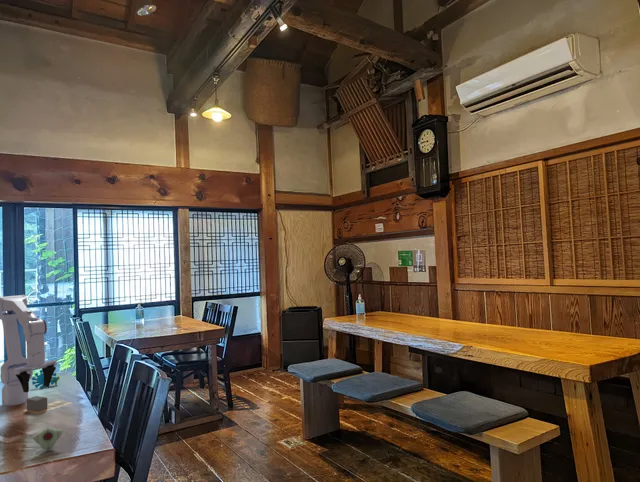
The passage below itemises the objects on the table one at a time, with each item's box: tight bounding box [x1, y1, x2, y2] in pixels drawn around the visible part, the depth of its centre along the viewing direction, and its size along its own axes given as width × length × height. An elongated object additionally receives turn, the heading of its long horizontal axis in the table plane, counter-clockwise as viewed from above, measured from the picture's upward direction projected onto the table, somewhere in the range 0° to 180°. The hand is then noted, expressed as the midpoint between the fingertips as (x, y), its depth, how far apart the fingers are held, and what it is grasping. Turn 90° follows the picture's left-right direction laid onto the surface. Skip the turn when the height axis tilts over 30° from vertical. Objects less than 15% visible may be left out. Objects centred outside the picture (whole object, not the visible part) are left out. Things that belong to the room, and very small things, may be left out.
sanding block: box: [26, 395, 48, 414], centre depth 169 cm, size 7×4×4 cm, turn 62°
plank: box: [23, 400, 72, 415], centre depth 173 cm, size 10×13×1 cm
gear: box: [31, 369, 61, 390], centre depth 210 cm, size 11×6×10 cm
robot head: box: [31, 427, 64, 451], centre depth 133 cm, size 8×4×7 cm, turn 121°
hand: (36, 389), depth 169 cm, fingers open, 7 cm apart
